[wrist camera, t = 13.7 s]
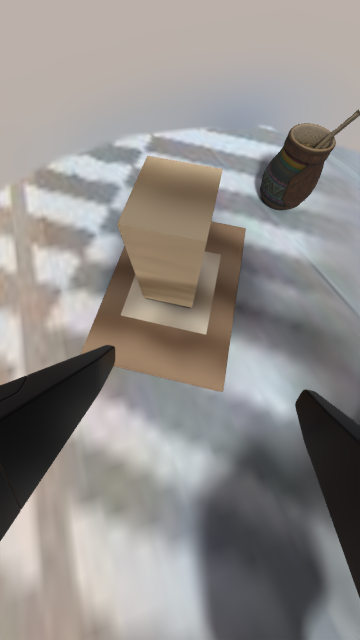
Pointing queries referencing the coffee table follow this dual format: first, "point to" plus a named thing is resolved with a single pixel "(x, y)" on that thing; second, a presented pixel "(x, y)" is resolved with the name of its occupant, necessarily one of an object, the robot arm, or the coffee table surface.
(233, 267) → the loading dock
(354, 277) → the coffee table surface
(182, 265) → the tan rectangular block
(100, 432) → the coffee table surface
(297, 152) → the mate gourd
